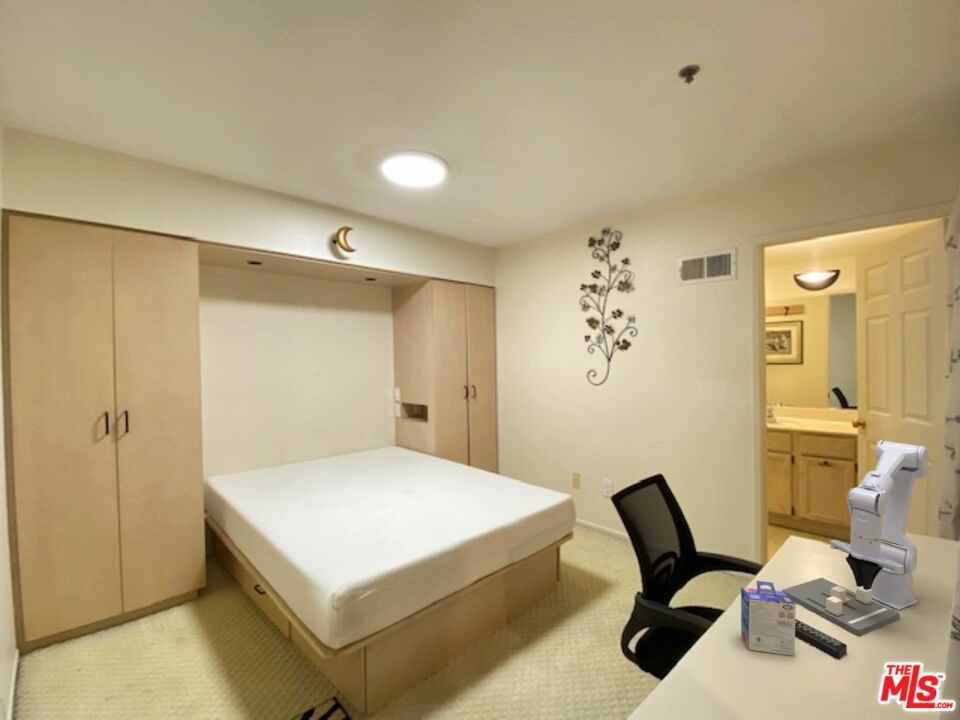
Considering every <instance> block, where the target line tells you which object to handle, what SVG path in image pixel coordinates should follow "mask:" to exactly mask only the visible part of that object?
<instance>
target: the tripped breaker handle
mask: <svg viewBox="0 0 960 720" xmlns="http://www.w3.org/2000/svg"><path fill="white" fill-rule="evenodd" d="M839 586H840V585H839ZM839 586H836V587H833V588H831V597H832V596H835V597H837V598H839V599H841V600H842V604H845V603H848V601H846V589H847V588H846V589H844V588H845V587H844V588H841V587H842V586H841V587H839Z"/></svg>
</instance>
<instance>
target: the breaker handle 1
mask: <svg viewBox="0 0 960 720" xmlns="http://www.w3.org/2000/svg"><path fill="white" fill-rule="evenodd" d="M824 610H826V611H828V612H830V613H832V614H834V615H836V616H839V615H842V614H844V612H842V600H841V599H839V598H837V597H835V596H832V597H829V598H826V608H824Z"/></svg>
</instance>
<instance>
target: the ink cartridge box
mask: <svg viewBox="0 0 960 720" xmlns="http://www.w3.org/2000/svg"><path fill="white" fill-rule="evenodd" d="M762 586H768V587H770V589H769V588H761V587H762ZM756 587H757V588H749V587H748V588H747V587H741V588H740V596H741V597H740V610H741V612H740V614H741V615H740V619H741V620H740V624H741V625H740V637H741V639H742V641H743V642H744V645H745V646H746V648H747V649H748V650H750V651H756V652H763V653H764V652H765V653H772V654H779V655H785V656H786V655H787V656H792V657H793V656H795V655H796V653H795V652H796V637H795V619H796V605H797V603H795V602H794V601H793V600H792V599H791V598H790V597H789V596H788V595H787V594H786V593H785V592H783V591H782V590H776V588H775V586H774V583H773V582H769V581H763V580H756Z"/></svg>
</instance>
